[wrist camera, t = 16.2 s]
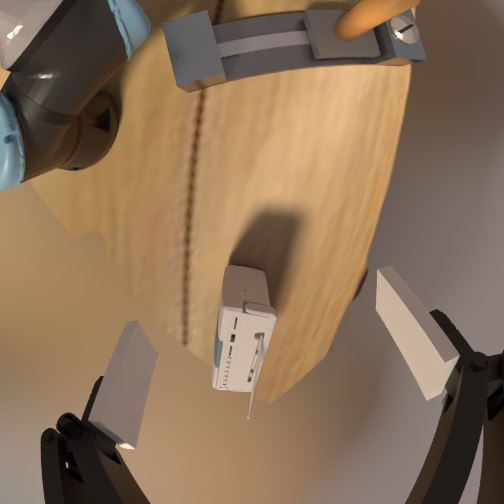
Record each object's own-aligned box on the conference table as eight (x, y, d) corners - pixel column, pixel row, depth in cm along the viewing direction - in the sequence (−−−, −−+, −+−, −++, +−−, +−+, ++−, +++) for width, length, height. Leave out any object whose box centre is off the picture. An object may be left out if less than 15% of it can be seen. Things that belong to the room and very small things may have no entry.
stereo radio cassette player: (224, 259, 48) (217, 341, 30) (270, 265, 49) (286, 347, 31) (213, 342, 57) (208, 420, 40) (250, 346, 58) (255, 423, 40)
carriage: (315, 59, 31) (373, 18, 14) (301, 15, 28) (345, -47, 10) (373, 57, 31) (453, 33, 13) (360, 15, 27) (428, -28, 10)
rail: (188, 92, 35) (175, 85, 27) (175, 39, 30) (160, 21, 23) (400, 66, 33) (429, 60, 25) (386, 17, 28) (411, 4, 20)
